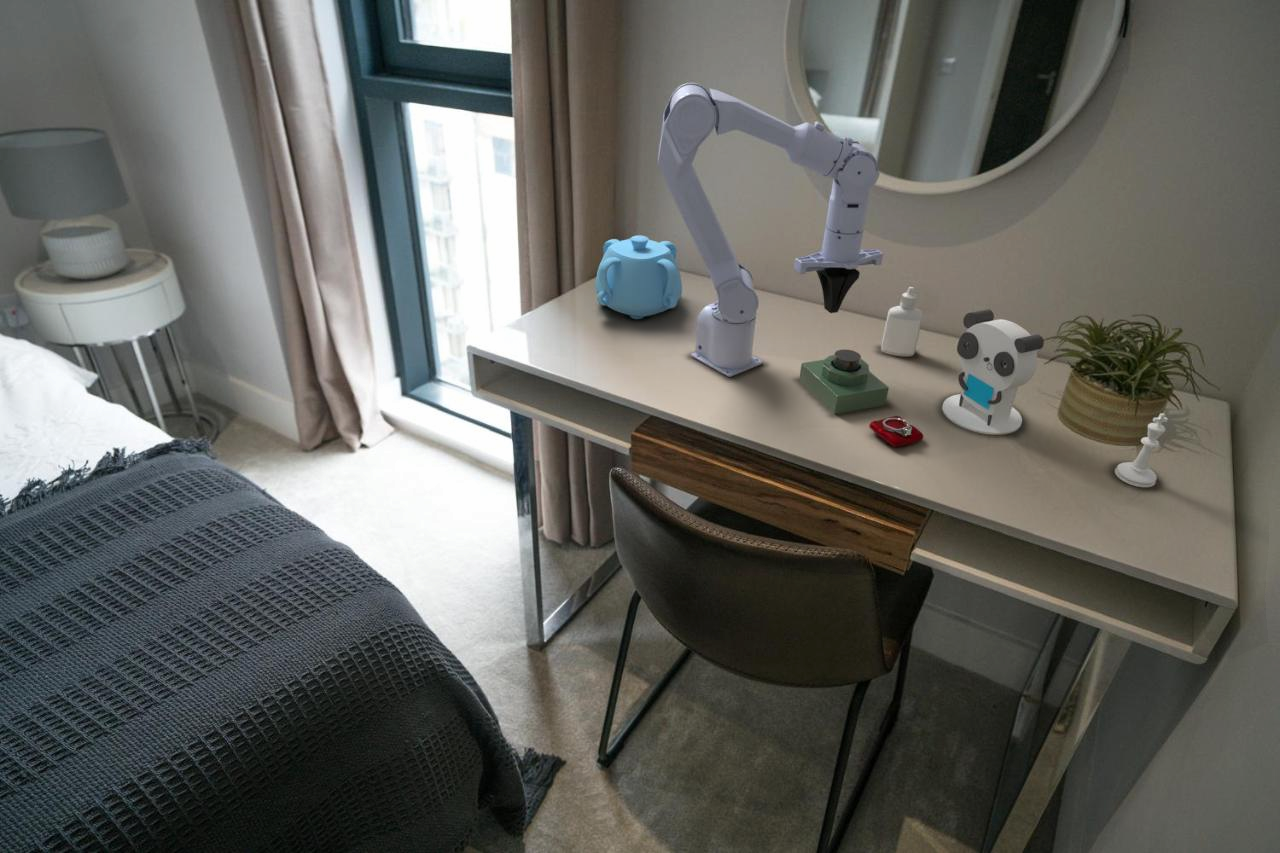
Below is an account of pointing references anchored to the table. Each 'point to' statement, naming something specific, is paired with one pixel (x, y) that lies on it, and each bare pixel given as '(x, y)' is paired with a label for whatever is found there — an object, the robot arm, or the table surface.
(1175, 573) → the table surface
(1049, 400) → the table surface
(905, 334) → the eye dropper bottle
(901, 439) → the engagement ring
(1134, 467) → the chess piece
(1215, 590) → the table surface
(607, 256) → the decorative pot
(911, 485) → the table surface
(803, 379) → the green button base
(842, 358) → the black push button
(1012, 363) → the panda figurine
